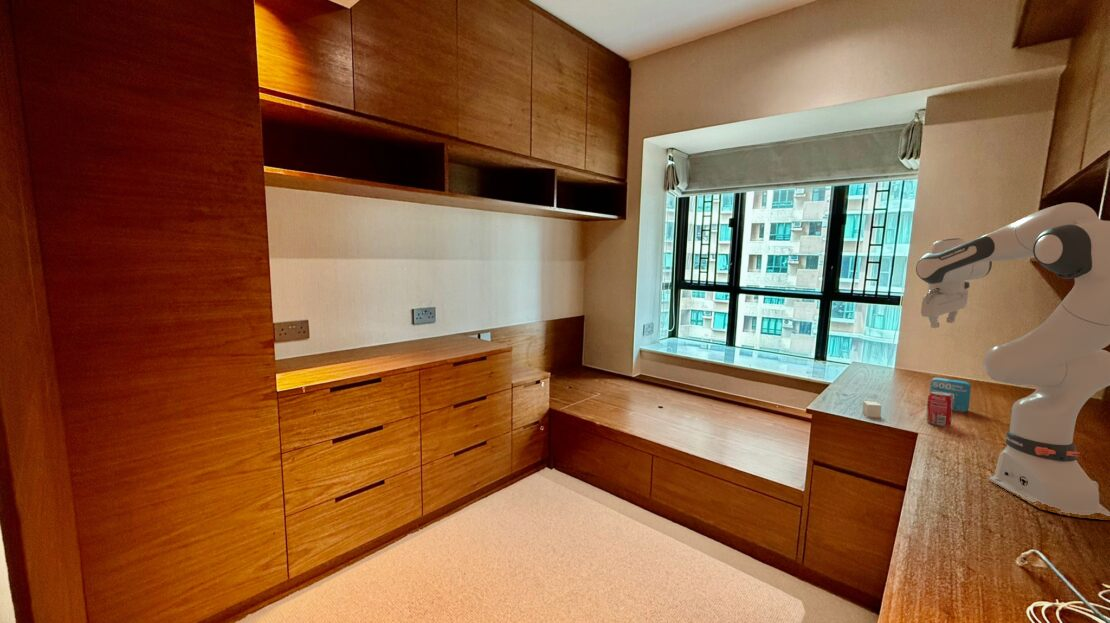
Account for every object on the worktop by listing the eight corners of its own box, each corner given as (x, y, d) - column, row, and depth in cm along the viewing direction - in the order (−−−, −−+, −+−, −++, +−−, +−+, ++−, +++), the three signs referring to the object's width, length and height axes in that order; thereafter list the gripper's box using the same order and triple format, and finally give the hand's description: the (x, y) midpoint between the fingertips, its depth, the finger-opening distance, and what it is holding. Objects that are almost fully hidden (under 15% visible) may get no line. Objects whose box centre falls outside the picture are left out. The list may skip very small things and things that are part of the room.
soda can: (940, 420, 163) (943, 390, 161) (956, 427, 156) (959, 396, 154) (920, 420, 163) (923, 390, 162) (935, 427, 156) (938, 395, 155)
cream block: (880, 417, 167) (881, 405, 166) (866, 416, 168) (867, 404, 168) (875, 413, 171) (876, 401, 170) (862, 412, 172) (863, 400, 172)
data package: (928, 406, 179) (930, 378, 178) (929, 403, 182) (932, 376, 181) (967, 413, 170) (970, 384, 169) (968, 410, 173) (971, 382, 172)
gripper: (938, 291, 139) (936, 332, 141) (973, 282, 146) (970, 321, 149) (916, 290, 144) (914, 329, 147) (950, 281, 152) (948, 318, 154)
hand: (942, 325), depth 148 cm, fingers open, 8 cm apart
